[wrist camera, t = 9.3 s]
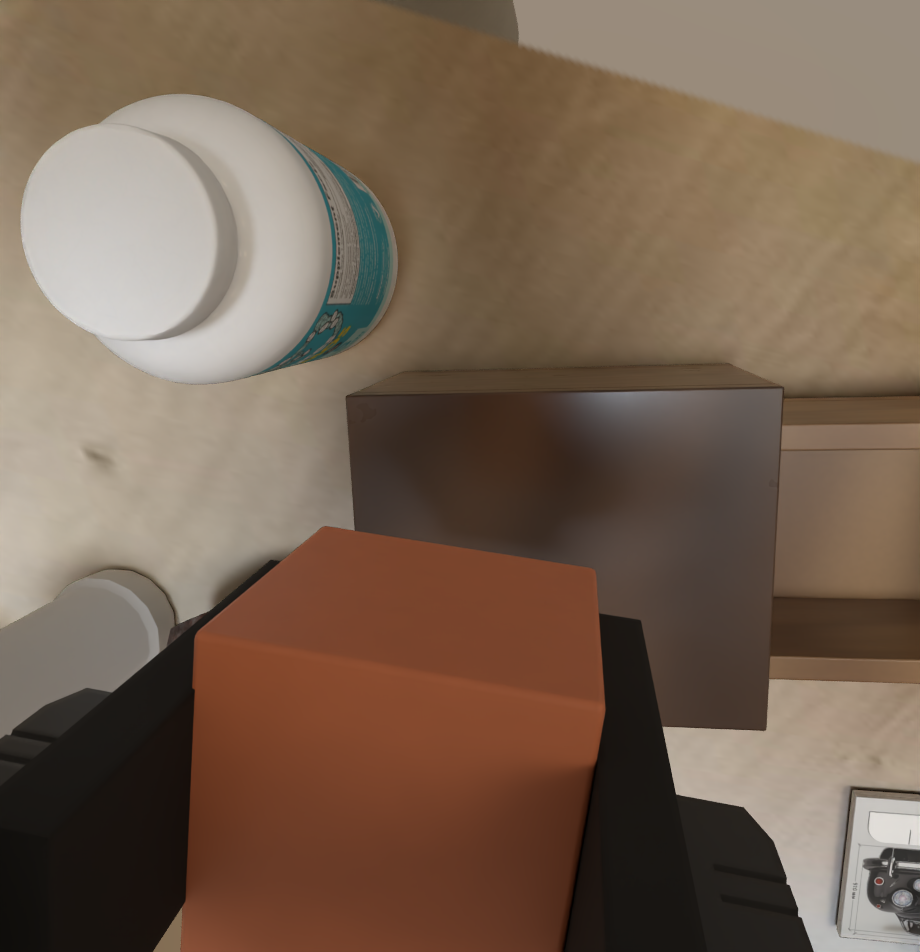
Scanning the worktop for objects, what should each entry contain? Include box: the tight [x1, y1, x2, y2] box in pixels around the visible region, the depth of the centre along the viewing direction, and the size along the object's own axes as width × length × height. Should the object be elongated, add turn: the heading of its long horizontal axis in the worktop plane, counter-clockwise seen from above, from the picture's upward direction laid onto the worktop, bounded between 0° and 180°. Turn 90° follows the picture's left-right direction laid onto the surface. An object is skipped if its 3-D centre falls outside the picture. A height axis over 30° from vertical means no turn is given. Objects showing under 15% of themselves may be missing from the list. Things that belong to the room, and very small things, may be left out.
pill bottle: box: [20, 94, 398, 384], centre depth 24 cm, size 8×7×14 cm
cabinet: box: [346, 363, 784, 731], centre depth 27 cm, size 12×10×8 cm
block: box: [181, 526, 606, 952], centre depth 11 cm, size 4×4×4 cm
